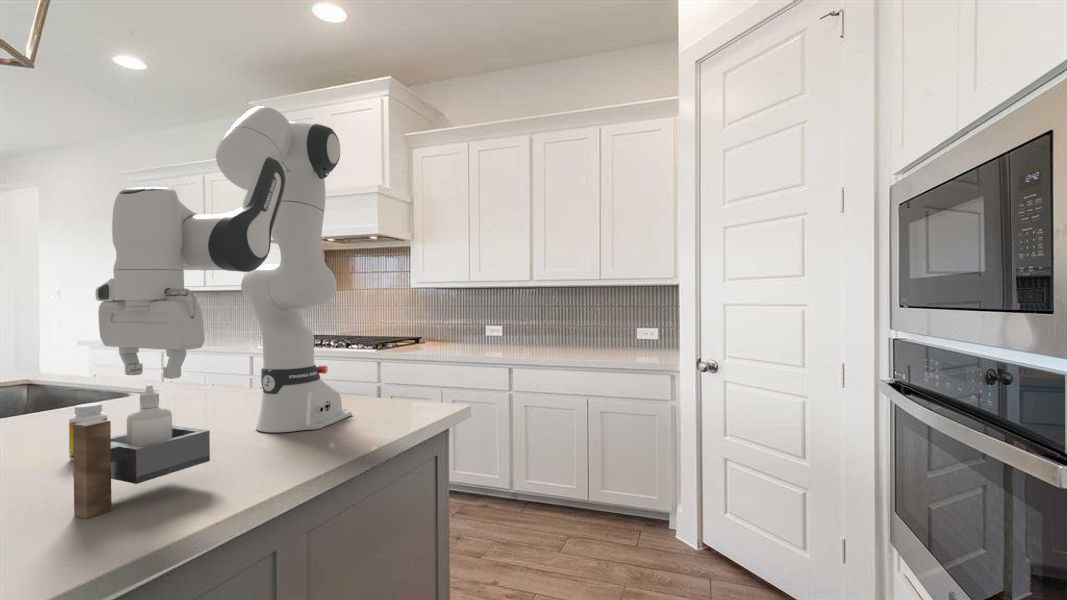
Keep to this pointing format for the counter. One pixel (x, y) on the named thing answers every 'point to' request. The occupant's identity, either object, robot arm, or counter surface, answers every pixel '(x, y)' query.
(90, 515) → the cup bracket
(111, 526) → the counter surface
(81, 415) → the supplement bottle
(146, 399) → the eye dropper bottle
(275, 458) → the counter surface
